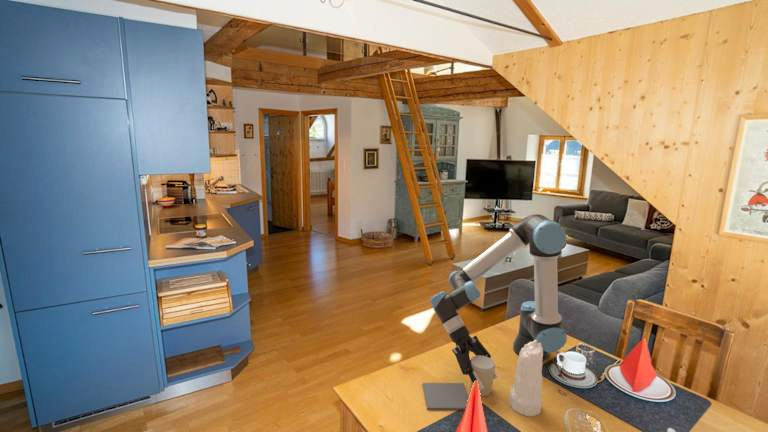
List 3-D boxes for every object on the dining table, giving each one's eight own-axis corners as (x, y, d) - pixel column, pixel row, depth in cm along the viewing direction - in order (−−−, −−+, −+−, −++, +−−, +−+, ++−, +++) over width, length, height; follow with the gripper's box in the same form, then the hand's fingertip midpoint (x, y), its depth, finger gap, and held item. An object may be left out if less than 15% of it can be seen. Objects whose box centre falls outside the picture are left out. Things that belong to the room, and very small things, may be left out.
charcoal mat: (463, 384, 155) (463, 382, 154) (471, 409, 141) (472, 407, 141) (422, 384, 154) (422, 382, 154) (427, 409, 140) (427, 407, 140)
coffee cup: (490, 383, 156) (493, 355, 153) (494, 398, 147) (497, 370, 144) (466, 381, 157) (468, 353, 154) (469, 396, 148) (471, 368, 145)
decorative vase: (525, 420, 136) (532, 355, 131) (503, 401, 146) (509, 339, 140) (547, 410, 141) (555, 347, 136) (524, 392, 151) (531, 333, 145)
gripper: (466, 324, 166) (497, 375, 158) (433, 342, 152) (465, 399, 144) (478, 317, 161) (510, 369, 153) (445, 335, 147) (478, 393, 139)
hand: (488, 383), depth 149 cm, fingers closed on coffee cup, 9 cm apart
